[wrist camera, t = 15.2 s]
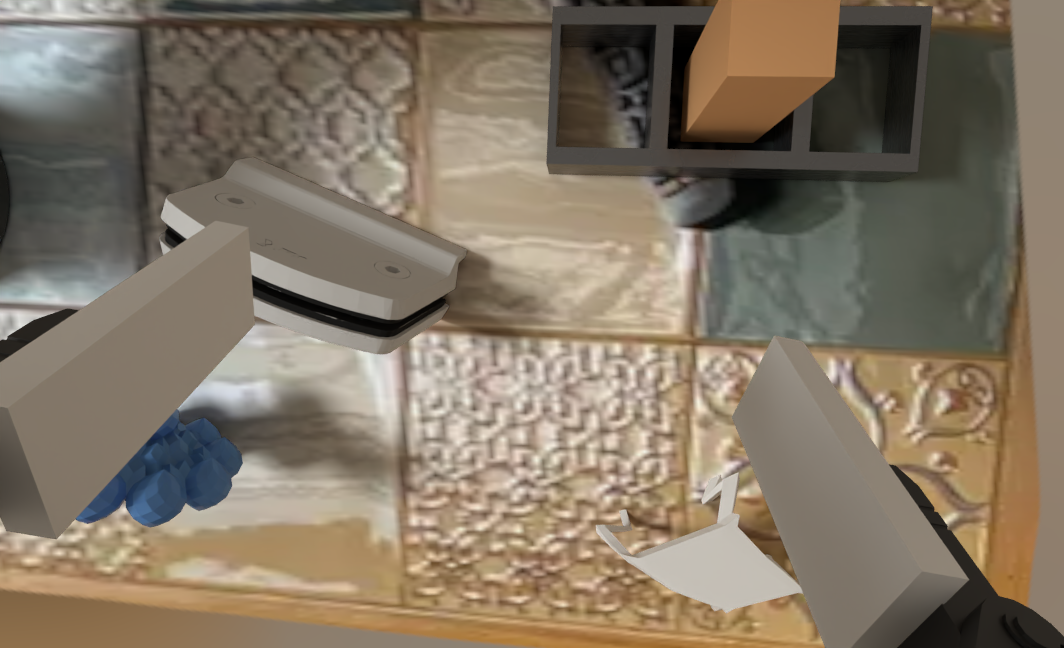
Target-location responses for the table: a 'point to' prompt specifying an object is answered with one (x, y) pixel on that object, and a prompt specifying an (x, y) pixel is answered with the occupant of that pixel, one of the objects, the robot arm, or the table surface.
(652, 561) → the origami figure
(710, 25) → the square peg
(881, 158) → the grey compartment tray
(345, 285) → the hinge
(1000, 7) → the table surface
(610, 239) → the table surface
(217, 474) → the grapes
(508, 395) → the table surface
